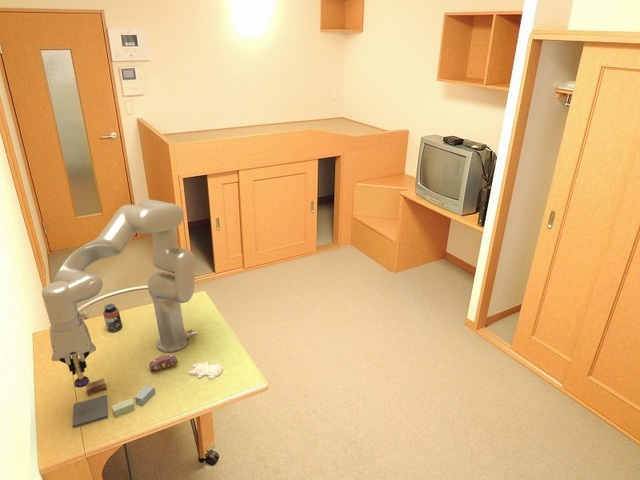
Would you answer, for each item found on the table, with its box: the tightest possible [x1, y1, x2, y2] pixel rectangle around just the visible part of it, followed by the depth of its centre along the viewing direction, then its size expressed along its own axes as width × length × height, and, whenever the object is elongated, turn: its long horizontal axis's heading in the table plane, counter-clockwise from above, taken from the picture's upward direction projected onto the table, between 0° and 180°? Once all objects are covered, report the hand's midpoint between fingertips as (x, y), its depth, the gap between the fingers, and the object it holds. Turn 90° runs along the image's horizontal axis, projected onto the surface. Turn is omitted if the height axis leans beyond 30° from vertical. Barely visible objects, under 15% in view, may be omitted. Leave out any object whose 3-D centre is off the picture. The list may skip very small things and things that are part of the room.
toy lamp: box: [69, 352, 90, 389], centre depth 136 cm, size 5×5×17 cm
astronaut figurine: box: [187, 361, 224, 381], centre depth 163 cm, size 9×12×3 cm
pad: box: [71, 394, 109, 429], centre depth 145 cm, size 10×10×1 cm
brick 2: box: [111, 397, 135, 419], centre depth 145 cm, size 6×3×3 cm, turn 123°
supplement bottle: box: [102, 303, 123, 333], centre depth 184 cm, size 6×6×11 cm
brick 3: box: [134, 384, 156, 406], centre depth 150 cm, size 6×3×3 cm, turn 159°
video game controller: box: [148, 353, 178, 371], centre depth 164 cm, size 10×5×7 cm, turn 118°
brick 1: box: [84, 378, 108, 397], centre depth 153 cm, size 6×3×3 cm, turn 125°
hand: (78, 370), depth 138 cm, fingers closed on toy lamp
